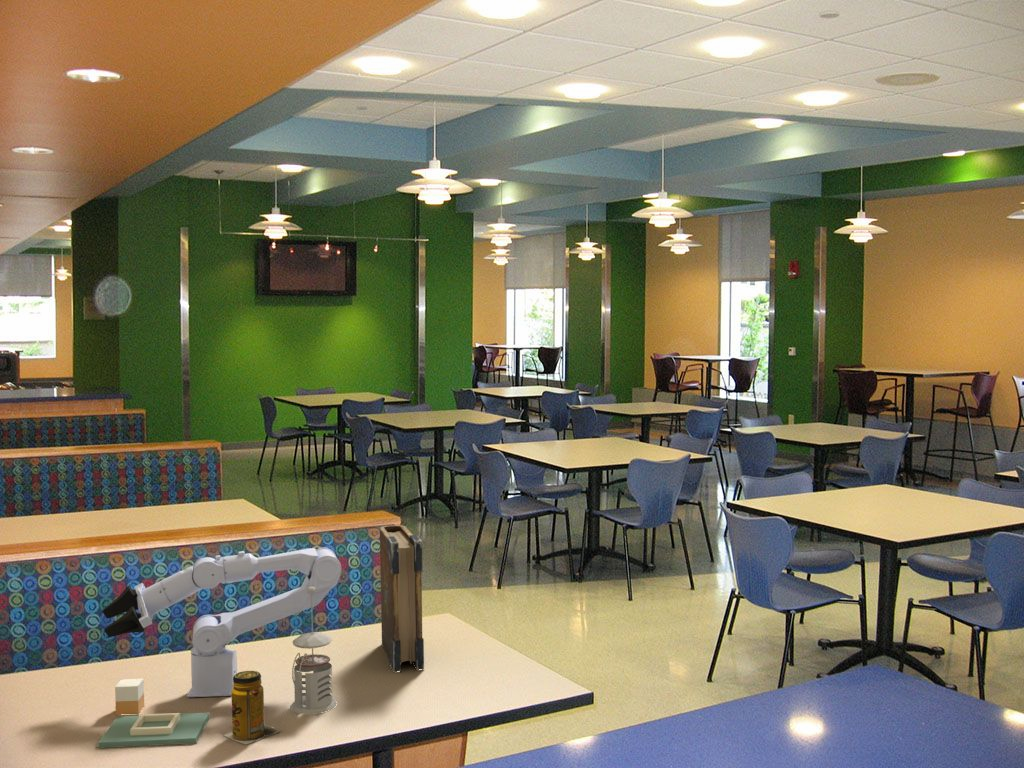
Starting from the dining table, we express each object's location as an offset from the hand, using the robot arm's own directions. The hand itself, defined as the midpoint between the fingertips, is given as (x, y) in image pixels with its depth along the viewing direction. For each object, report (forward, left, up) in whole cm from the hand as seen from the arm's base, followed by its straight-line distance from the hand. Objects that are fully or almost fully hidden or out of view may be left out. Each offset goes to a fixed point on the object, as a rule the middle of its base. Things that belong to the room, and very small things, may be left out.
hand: (105, 623), depth 217 cm
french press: (-43, +8, -17) cm, 47 cm away
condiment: (-33, +21, -17) cm, 43 cm away
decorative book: (-61, -23, -17) cm, 68 cm away
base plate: (-14, +18, -17) cm, 28 cm away
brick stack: (-6, +6, -17) cm, 19 cm away
